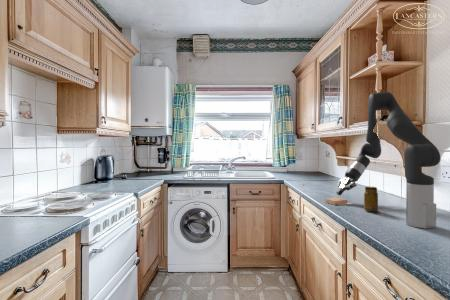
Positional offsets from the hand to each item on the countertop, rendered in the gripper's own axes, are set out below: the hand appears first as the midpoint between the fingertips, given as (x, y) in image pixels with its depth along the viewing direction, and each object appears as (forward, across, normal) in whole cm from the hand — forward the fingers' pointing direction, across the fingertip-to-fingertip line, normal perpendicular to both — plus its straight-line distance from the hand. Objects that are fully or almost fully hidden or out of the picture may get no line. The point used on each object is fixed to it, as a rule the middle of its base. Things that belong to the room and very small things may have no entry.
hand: (338, 194), depth 154 cm
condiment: (+2, +20, +6) cm, 21 cm away
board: (+3, 0, +5) cm, 5 cm away
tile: (0, 0, +5) cm, 5 cm away
